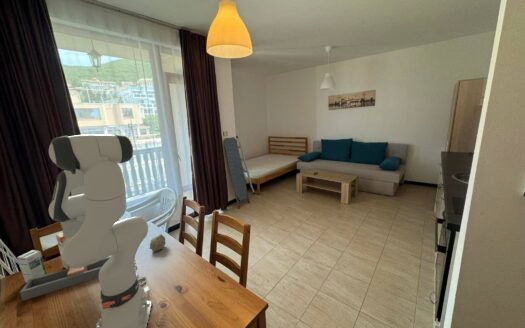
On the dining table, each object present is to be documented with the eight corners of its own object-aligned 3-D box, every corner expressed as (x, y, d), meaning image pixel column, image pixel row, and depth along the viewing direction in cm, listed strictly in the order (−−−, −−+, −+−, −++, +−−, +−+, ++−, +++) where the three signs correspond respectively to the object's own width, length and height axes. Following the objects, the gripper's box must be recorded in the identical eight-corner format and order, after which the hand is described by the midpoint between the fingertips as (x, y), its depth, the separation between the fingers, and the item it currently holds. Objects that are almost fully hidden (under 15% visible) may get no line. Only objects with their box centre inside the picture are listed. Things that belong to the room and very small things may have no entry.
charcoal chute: (112, 272, 106) (110, 265, 105) (22, 300, 90) (19, 292, 90) (114, 263, 114) (112, 255, 113) (31, 287, 98) (29, 279, 97)
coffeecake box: (68, 271, 109) (59, 237, 105) (63, 266, 112) (54, 234, 108) (101, 255, 121) (94, 224, 117) (95, 251, 125) (89, 222, 121)
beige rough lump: (163, 248, 130) (165, 232, 131) (166, 252, 123) (169, 235, 124) (146, 249, 124) (149, 232, 125) (149, 254, 117) (152, 236, 119)
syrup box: (33, 284, 100) (25, 257, 97) (24, 282, 101) (16, 256, 98) (47, 275, 106) (40, 250, 103) (39, 274, 107) (31, 249, 104)
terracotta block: (85, 277, 102) (83, 269, 101) (69, 282, 99) (67, 274, 98) (87, 270, 107) (86, 262, 106) (72, 274, 104) (70, 266, 103)
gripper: (57, 222, 93) (63, 249, 96) (111, 211, 103) (116, 236, 106) (61, 216, 98) (68, 242, 101) (113, 207, 108) (118, 231, 111)
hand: (93, 239), depth 104 cm, fingers closed
